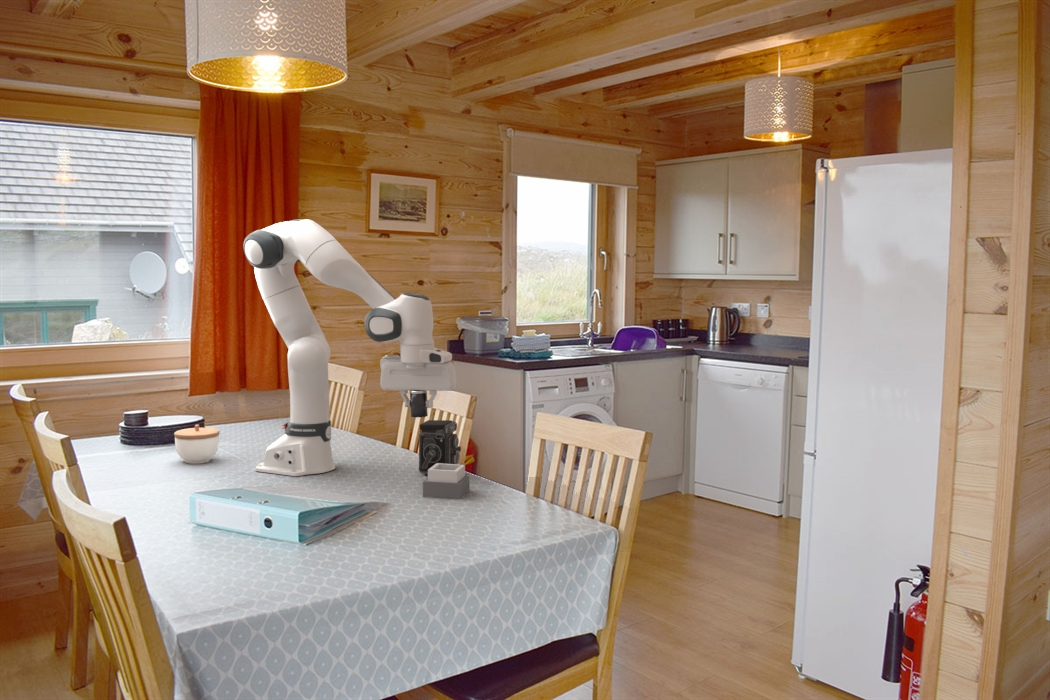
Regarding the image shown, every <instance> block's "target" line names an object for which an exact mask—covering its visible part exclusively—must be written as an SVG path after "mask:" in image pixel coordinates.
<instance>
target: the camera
mask: <svg viewBox="0 0 1050 700" xmlns="http://www.w3.org/2000/svg"><path fill="white" fill-rule="evenodd" d="M419 430H421V432H420V431H419V433H418V471H419V472H418V473H420V474H422V476H425V475H428V469H430V468H431V467H432V466H434V465H435V464H436V463H443V464H459V465H460V458H461V455H460V453H461V450H462V446H460V445H459V444H460V440H459V437H458V434H457V433H454V432H456V431H457V430H458V423H457V422H456V421H454V420H452V419H451V420H449V419H447V420H445V419H443V420H442V419H440V420H439V419H438V420H437V419H436V420H435V419H428V420H426V421H424V422H422V423H420V424H419Z"/></svg>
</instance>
